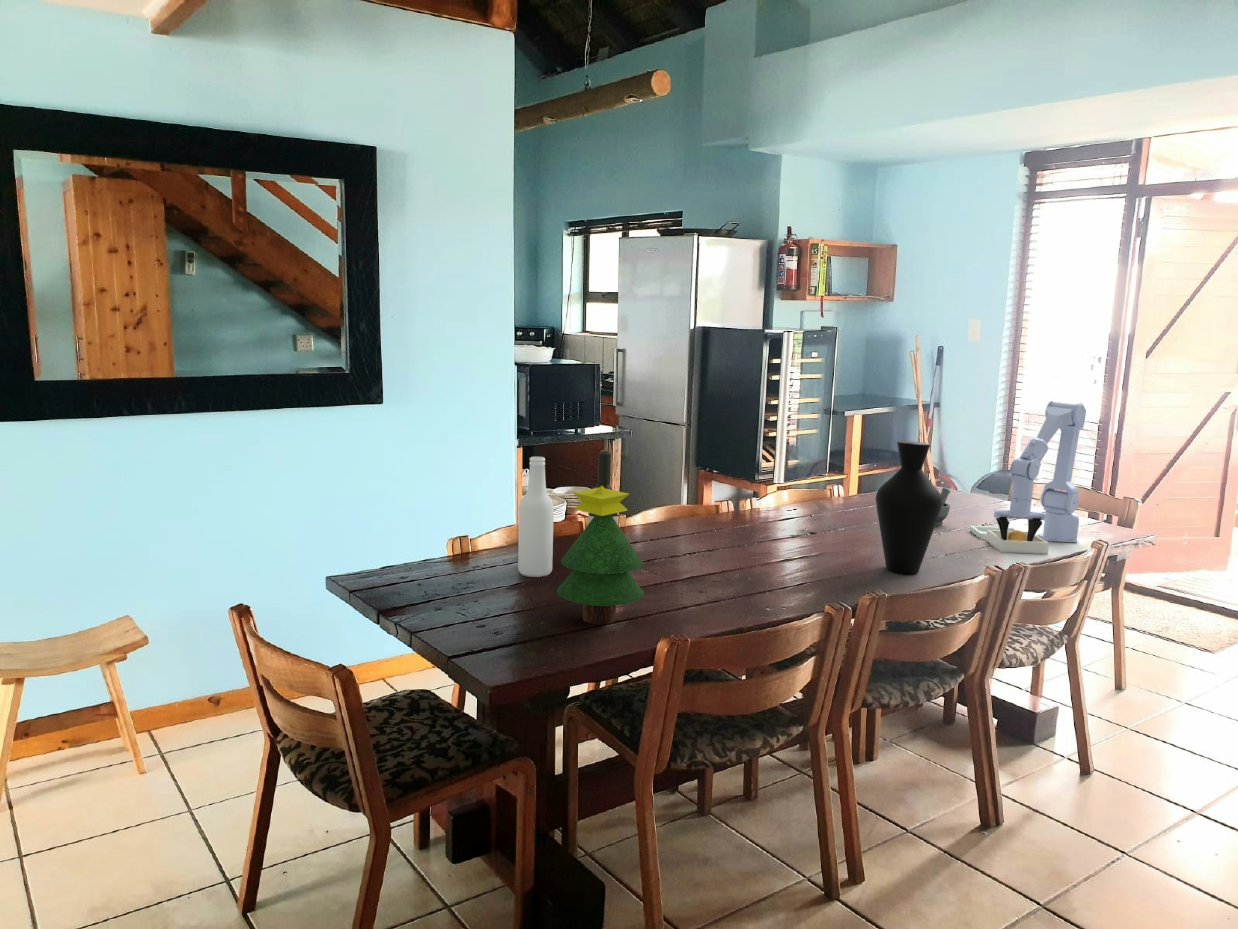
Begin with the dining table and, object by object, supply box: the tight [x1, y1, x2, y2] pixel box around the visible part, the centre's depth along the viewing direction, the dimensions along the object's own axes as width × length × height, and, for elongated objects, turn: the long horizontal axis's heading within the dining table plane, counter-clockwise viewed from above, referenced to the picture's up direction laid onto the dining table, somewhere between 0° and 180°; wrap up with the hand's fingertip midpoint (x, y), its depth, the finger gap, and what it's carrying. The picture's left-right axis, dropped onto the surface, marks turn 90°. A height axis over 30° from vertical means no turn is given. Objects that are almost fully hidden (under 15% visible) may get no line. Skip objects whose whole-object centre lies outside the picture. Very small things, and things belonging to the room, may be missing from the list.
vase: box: [875, 440, 942, 576], centre depth 255 cm, size 17×17×35 cm
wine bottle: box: [587, 449, 619, 525], centre depth 256 cm, size 8×8×30 cm
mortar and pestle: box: [935, 487, 951, 527], centre depth 315 cm, size 11×9×12 cm
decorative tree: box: [556, 486, 645, 625], centre depth 207 cm, size 19×19×30 cm
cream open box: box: [985, 530, 1050, 555], centre depth 288 cm, size 14×14×4 cm
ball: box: [1008, 529, 1026, 541], centre depth 287 cm, size 5×5×5 cm
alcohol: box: [517, 456, 555, 578], centre depth 241 cm, size 9×9×30 cm
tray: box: [969, 525, 1018, 540], centre depth 302 cm, size 14×10×2 cm
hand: (1016, 542), depth 288 cm, fingers open, 7 cm apart
